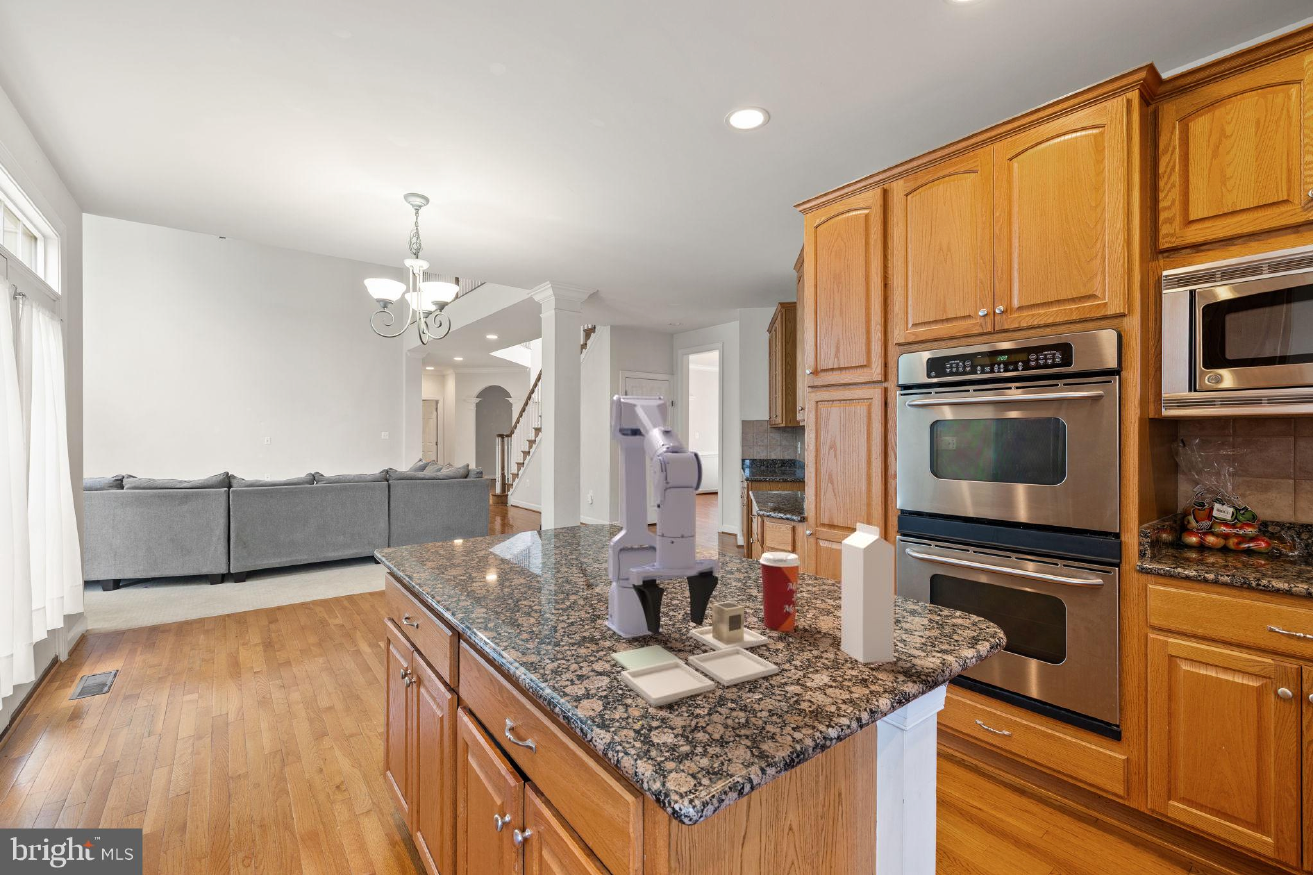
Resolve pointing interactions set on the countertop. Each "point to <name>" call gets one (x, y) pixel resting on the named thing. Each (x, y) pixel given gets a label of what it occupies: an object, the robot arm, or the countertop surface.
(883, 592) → the milk
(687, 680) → the dish
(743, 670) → the dish
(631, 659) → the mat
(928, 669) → the countertop surface
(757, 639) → the dish
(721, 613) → the letter block
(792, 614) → the paper cup
